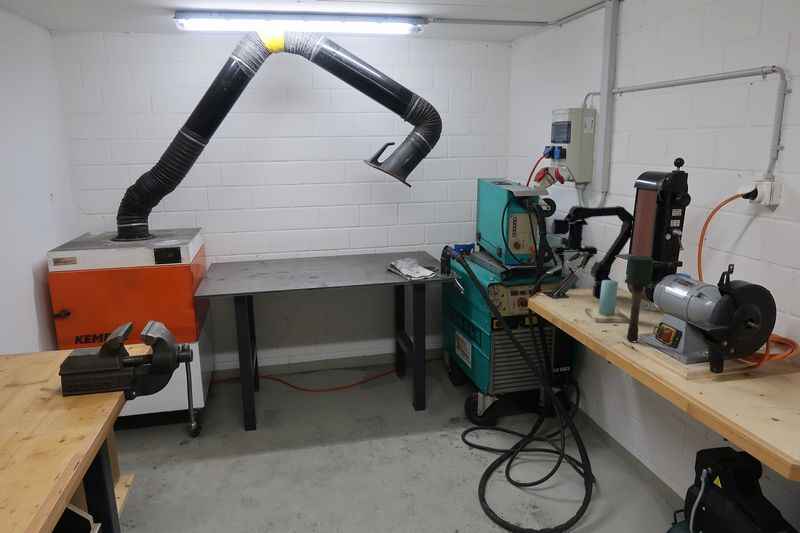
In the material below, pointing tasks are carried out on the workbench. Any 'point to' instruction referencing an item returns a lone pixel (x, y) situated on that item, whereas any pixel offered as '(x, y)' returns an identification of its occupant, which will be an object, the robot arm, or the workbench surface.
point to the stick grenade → (637, 288)
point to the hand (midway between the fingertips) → (572, 268)
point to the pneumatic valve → (650, 305)
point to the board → (604, 318)
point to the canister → (608, 297)
